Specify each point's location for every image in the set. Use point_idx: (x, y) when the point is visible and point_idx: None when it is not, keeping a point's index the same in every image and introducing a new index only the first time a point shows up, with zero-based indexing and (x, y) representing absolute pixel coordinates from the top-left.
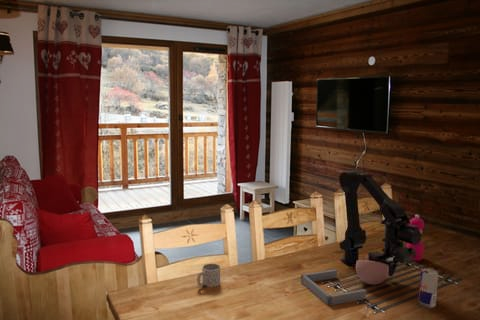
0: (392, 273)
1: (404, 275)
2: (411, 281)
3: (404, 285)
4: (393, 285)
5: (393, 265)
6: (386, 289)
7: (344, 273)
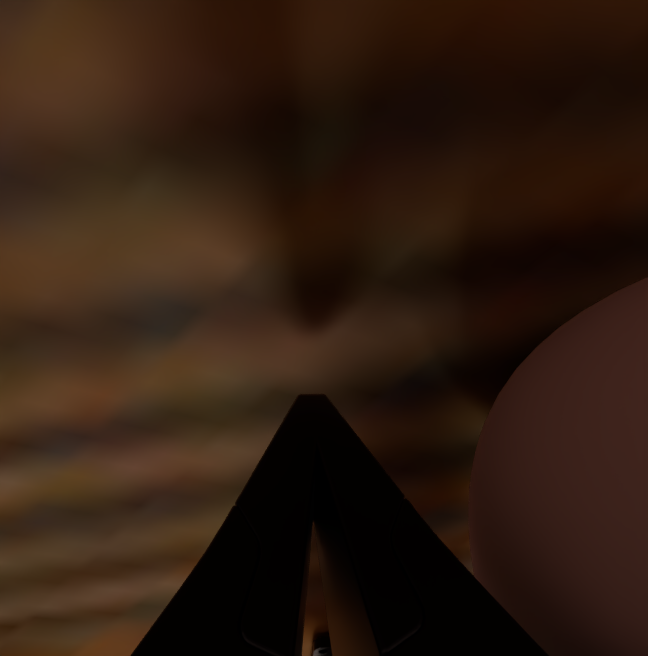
0: (308, 424)
1: (27, 416)
2: (10, 238)
3: (229, 161)
4: (396, 234)
5: (296, 633)
6: (606, 163)
7: None
